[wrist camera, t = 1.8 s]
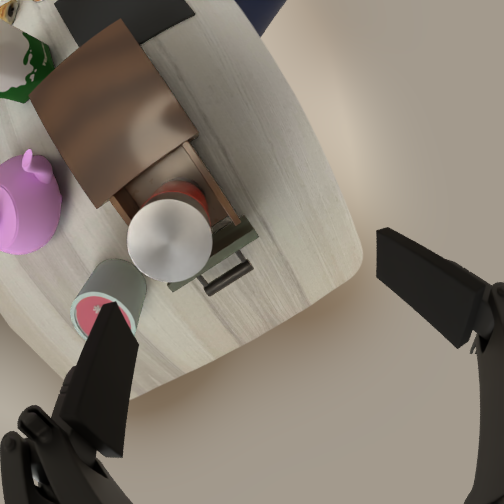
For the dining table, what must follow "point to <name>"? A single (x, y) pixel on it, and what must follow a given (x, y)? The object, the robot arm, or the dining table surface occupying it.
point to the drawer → (228, 238)
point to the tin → (171, 232)
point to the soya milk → (21, 63)
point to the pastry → (8, 11)
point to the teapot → (27, 203)
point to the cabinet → (110, 113)
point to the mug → (109, 295)
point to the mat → (121, 16)
